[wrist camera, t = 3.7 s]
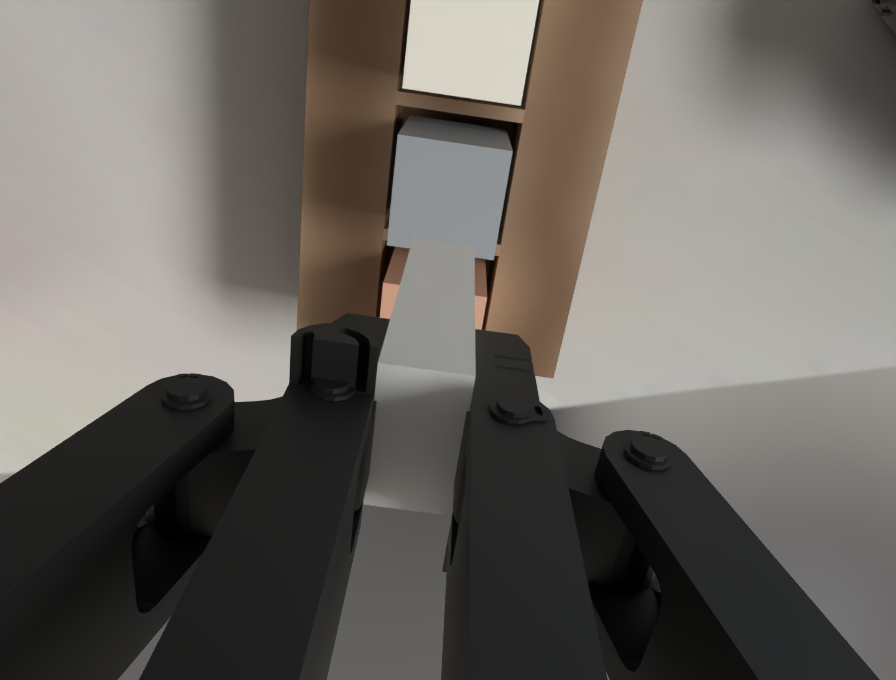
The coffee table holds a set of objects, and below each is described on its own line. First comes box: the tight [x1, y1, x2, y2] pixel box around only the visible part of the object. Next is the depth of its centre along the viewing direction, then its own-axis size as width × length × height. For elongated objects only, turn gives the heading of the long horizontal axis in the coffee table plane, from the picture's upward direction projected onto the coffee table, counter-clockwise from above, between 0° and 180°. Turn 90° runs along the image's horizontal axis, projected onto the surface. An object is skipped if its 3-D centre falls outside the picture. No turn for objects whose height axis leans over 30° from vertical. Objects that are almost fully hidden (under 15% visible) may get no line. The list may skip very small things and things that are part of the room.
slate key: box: [387, 115, 513, 260], centre depth 26 cm, size 4×4×5 cm
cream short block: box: [402, 0, 539, 106], centre depth 23 cm, size 4×4×5 cm
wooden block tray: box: [297, 0, 643, 378], centre depth 29 cm, size 12×17×5 cm
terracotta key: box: [380, 246, 487, 330], centre depth 28 cm, size 4×4×5 cm
